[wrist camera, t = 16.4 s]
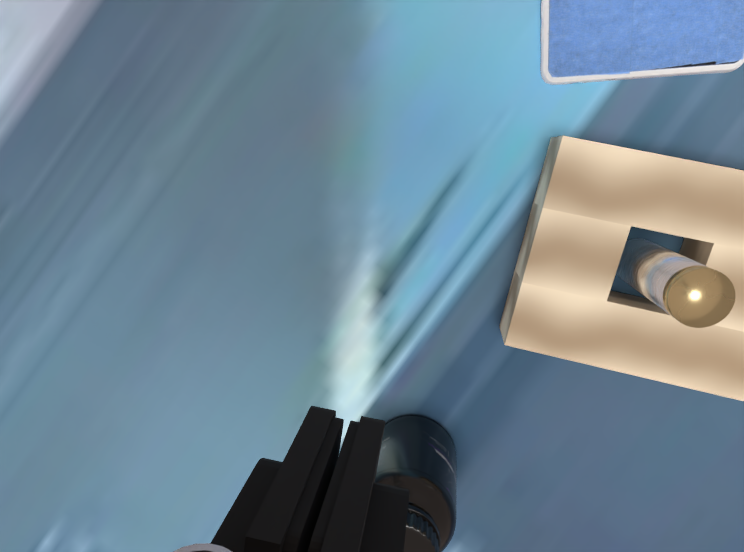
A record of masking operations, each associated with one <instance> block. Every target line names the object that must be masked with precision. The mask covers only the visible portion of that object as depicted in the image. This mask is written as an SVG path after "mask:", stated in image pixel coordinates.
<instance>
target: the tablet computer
mask: <svg viewBox="0 0 744 552" xmlns="http://www.w3.org/2000/svg"><path fill="white" fill-rule="evenodd" d="M541 20H542V22H541V68H540V70H541V76H542V79H543V80H544V81H545V82H546V83H548V84H551V85H561V84H572V83H576V82H580V83H587V82H600V81H610V80H625V79H639V78H652V77H665V76H679V75H693V74H709V73H725V72H731V71H733V70H735V69H737V68H739V67H740V66H741V65H742V64H743V63H744V0H542V2H541Z"/></svg>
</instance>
